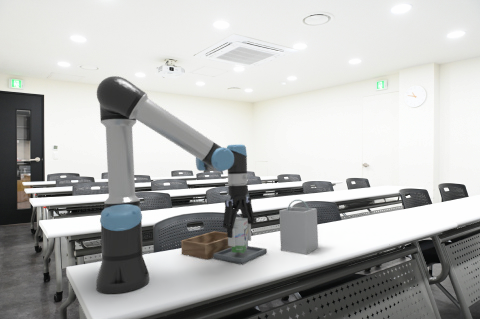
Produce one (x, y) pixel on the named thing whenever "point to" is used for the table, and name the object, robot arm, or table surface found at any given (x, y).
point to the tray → (240, 255)
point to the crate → (205, 245)
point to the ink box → (240, 235)
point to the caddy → (298, 230)
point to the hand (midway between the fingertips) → (240, 243)
